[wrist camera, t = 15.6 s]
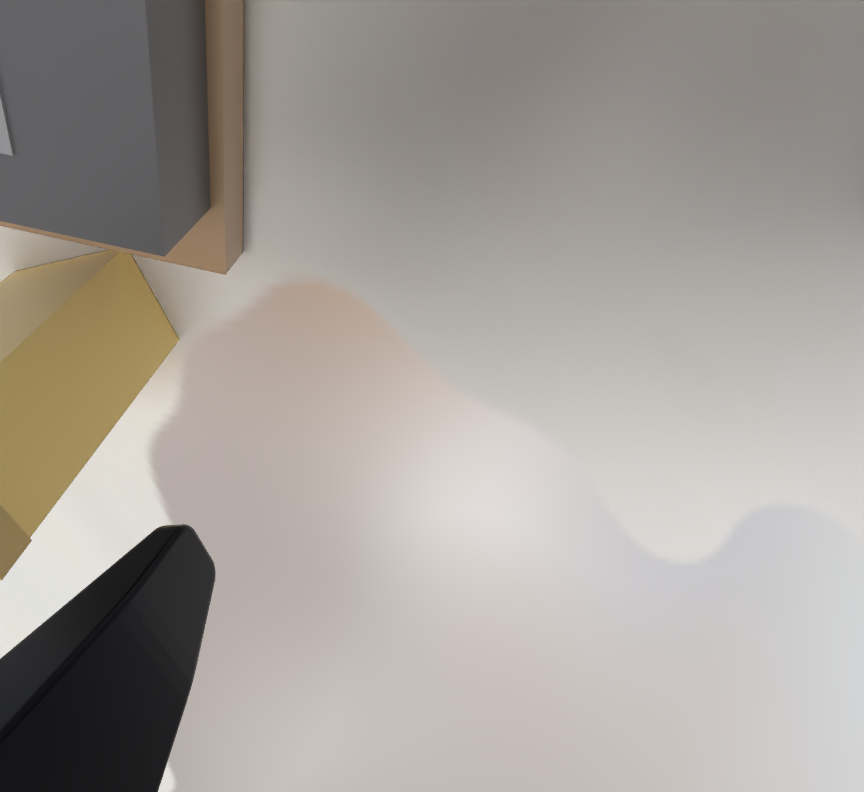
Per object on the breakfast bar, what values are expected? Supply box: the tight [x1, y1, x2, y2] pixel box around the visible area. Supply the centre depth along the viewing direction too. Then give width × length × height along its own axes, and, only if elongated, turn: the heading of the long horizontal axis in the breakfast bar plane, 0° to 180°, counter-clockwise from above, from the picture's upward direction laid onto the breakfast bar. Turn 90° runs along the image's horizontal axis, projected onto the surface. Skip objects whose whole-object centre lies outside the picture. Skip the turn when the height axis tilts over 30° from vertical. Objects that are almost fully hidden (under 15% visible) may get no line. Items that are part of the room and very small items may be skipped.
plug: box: [0, 250, 179, 580], centre depth 19 cm, size 4×4×10 cm
